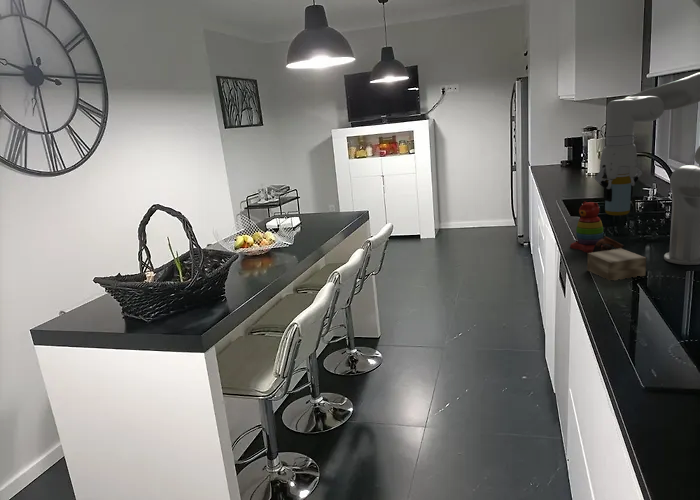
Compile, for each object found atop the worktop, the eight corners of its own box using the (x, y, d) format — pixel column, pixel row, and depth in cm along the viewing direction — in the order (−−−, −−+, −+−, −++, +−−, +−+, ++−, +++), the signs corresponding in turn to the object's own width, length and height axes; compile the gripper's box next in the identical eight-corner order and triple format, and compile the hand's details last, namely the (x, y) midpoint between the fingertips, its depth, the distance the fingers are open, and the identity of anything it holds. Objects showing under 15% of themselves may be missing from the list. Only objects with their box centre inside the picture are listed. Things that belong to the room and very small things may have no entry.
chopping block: (620, 265, 177) (621, 248, 176) (645, 275, 166) (646, 257, 164) (587, 270, 176) (587, 253, 174) (610, 281, 164) (610, 262, 163)
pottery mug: (590, 253, 195) (603, 234, 192) (615, 266, 191) (628, 246, 188) (587, 254, 184) (600, 234, 182) (613, 268, 180) (627, 247, 178)
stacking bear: (567, 247, 203) (567, 202, 199) (588, 243, 206) (588, 198, 202) (589, 253, 193) (589, 206, 189) (610, 248, 197) (611, 201, 192)
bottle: (632, 215, 162) (635, 166, 158) (608, 216, 163) (610, 167, 159) (625, 210, 168) (628, 163, 164) (602, 211, 170) (604, 165, 166)
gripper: (637, 137, 165) (634, 194, 169) (586, 143, 163) (585, 201, 167) (654, 138, 157) (651, 197, 162) (601, 145, 155) (599, 204, 160)
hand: (617, 199), depth 165 cm, fingers closed on bottle, 6 cm apart
